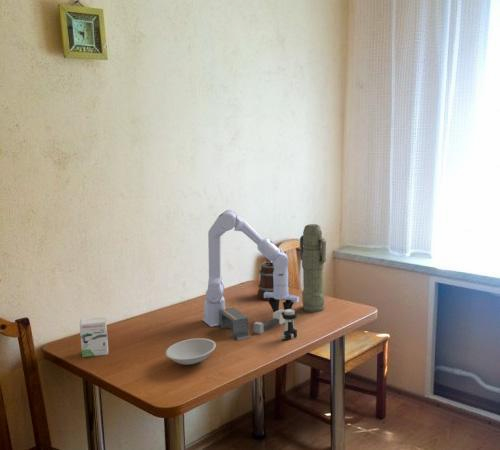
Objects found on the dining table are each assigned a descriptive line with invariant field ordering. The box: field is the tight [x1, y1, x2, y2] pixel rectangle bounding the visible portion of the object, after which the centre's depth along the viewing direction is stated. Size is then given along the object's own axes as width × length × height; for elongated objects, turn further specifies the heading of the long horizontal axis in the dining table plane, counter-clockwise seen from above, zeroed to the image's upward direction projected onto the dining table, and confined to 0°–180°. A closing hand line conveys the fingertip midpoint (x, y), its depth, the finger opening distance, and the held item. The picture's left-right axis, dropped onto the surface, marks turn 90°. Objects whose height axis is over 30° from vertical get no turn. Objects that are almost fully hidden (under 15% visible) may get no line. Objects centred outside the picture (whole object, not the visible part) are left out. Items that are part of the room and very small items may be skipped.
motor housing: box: [218, 307, 252, 341], centre depth 190 cm, size 18×6×7 cm, turn 26°
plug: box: [253, 308, 285, 335], centre depth 194 cm, size 4×17×4 cm, turn 140°
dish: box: [165, 337, 217, 366], centre depth 164 cm, size 18×14×5 cm
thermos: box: [299, 223, 327, 313], centre depth 210 cm, size 9×12×35 cm
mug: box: [257, 261, 274, 301], centre depth 231 cm, size 16×12×15 cm
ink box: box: [79, 316, 109, 358], centre depth 174 cm, size 9×5×12 cm, turn 103°
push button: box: [280, 308, 298, 341], centre depth 182 cm, size 7×5×10 cm
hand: (281, 317), depth 199 cm, fingers closed on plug, 4 cm apart
